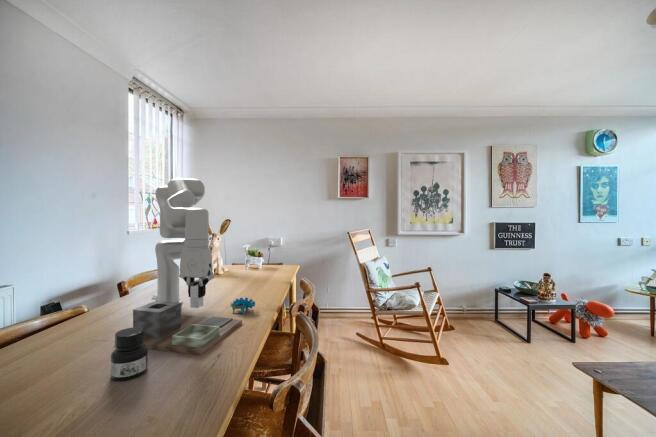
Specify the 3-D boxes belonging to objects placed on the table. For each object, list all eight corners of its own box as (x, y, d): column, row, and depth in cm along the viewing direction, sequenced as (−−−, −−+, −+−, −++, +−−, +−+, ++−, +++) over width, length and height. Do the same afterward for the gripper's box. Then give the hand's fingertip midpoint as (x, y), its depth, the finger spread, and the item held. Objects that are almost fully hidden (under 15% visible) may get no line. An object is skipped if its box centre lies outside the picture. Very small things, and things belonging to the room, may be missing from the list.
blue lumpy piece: (257, 305, 144) (251, 295, 137) (256, 317, 140) (250, 307, 133) (235, 308, 145) (227, 297, 137) (233, 319, 140) (225, 310, 133)
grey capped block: (195, 309, 102) (195, 282, 102) (187, 308, 103) (187, 282, 103) (205, 304, 108) (205, 279, 108) (198, 303, 109) (198, 278, 109)
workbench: (114, 345, 104) (114, 313, 104) (171, 317, 132) (171, 292, 131) (201, 355, 98) (201, 321, 98) (241, 323, 126) (242, 297, 125)
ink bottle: (104, 384, 81) (104, 340, 80) (113, 368, 89) (113, 328, 89) (147, 377, 85) (146, 335, 84) (151, 362, 93) (151, 323, 92)
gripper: (168, 244, 103) (168, 297, 103) (212, 245, 100) (212, 301, 100) (183, 242, 110) (183, 292, 111) (224, 243, 107) (224, 295, 108)
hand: (196, 295), depth 106 cm, fingers closed on grey capped block, 3 cm apart
